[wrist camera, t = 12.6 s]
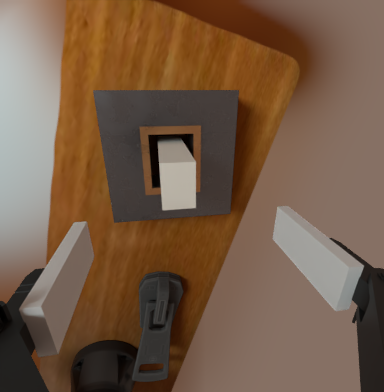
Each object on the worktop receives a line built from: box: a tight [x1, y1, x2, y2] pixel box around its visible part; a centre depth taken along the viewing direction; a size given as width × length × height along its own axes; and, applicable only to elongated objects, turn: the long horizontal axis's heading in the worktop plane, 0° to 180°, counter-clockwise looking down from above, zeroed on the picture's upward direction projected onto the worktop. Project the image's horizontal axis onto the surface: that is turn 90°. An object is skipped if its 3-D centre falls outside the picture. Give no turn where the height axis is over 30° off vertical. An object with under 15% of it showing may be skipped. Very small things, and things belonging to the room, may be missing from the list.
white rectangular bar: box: [157, 136, 196, 210], centre depth 30 cm, size 5×4×16 cm
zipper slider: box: [132, 272, 183, 382], centre depth 49 cm, size 9×7×25 cm
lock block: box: [93, 90, 239, 223], centre depth 35 cm, size 18×18×6 cm
